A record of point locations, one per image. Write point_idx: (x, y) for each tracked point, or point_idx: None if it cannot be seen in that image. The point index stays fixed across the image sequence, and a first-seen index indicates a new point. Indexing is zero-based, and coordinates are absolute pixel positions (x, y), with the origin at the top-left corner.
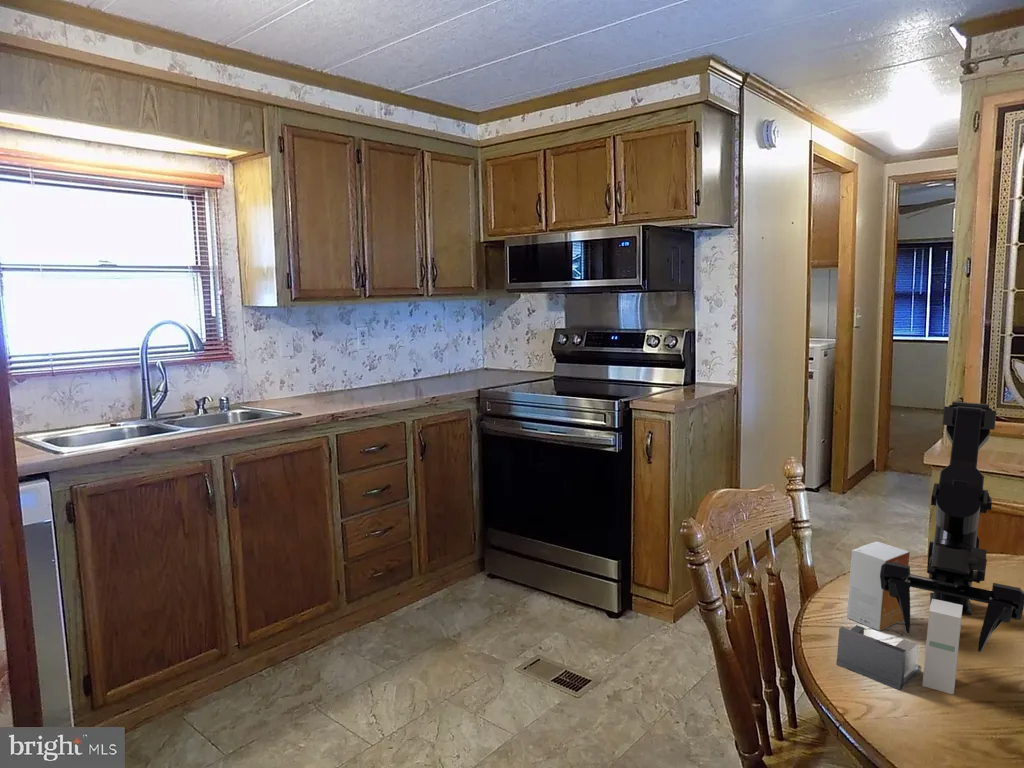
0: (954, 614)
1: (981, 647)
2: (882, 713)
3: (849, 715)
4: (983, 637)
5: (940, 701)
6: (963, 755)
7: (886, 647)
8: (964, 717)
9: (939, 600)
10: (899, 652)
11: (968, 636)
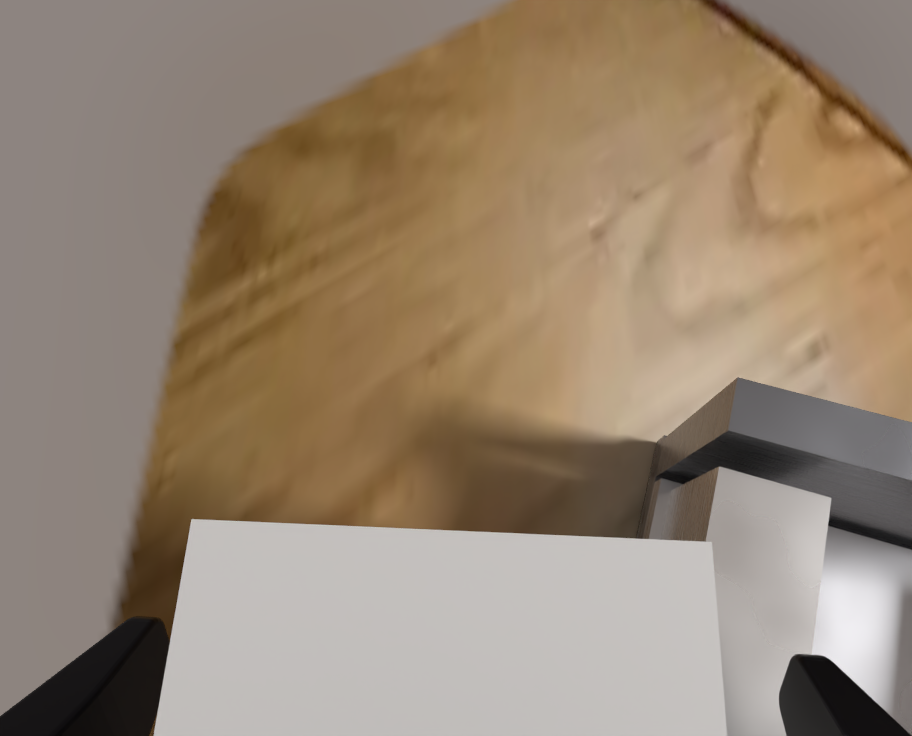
0: (285, 633)
1: (122, 626)
2: (687, 194)
3: (800, 109)
4: (38, 707)
5: (464, 446)
6: (381, 90)
7: (872, 416)
8: (363, 357)
9: None
10: (764, 387)
11: None
